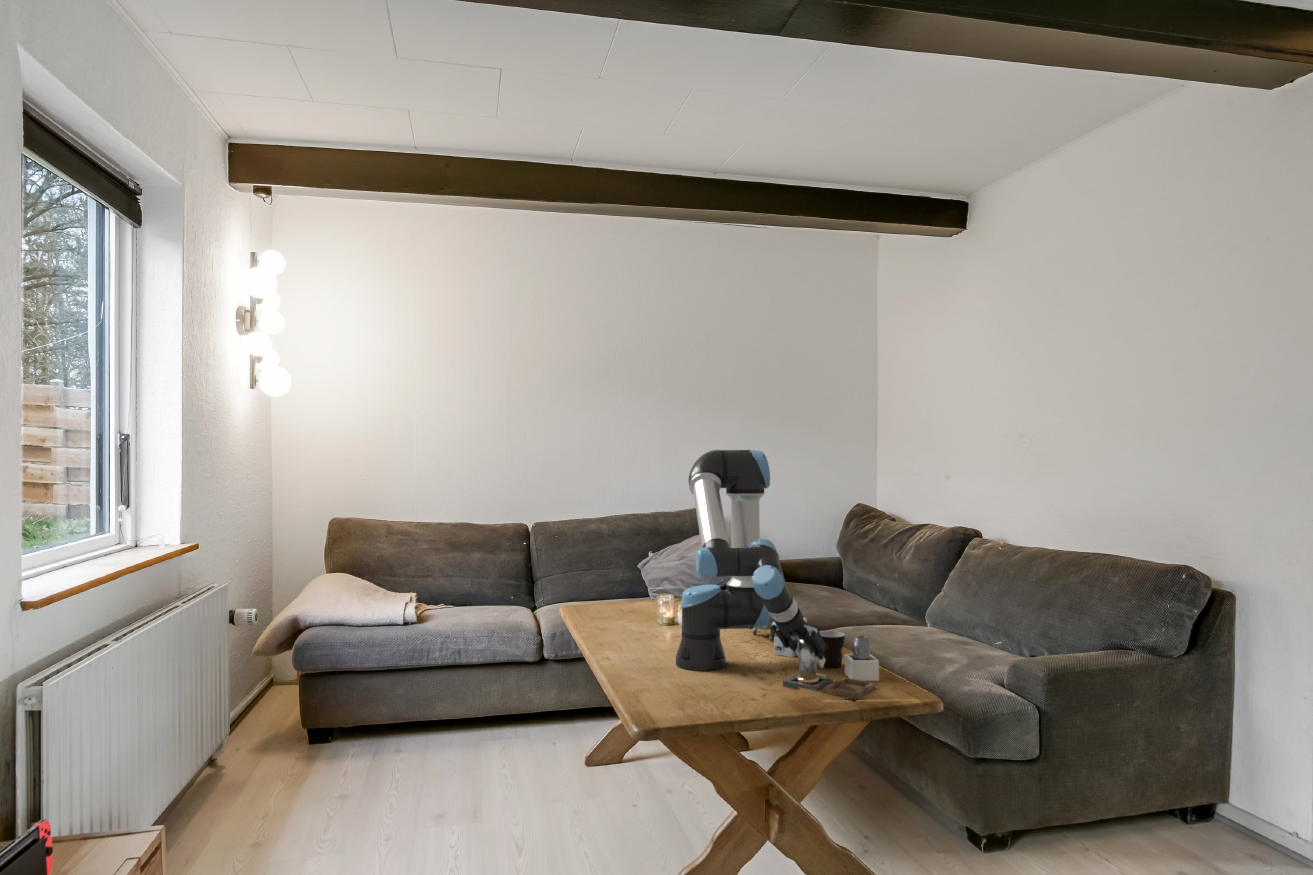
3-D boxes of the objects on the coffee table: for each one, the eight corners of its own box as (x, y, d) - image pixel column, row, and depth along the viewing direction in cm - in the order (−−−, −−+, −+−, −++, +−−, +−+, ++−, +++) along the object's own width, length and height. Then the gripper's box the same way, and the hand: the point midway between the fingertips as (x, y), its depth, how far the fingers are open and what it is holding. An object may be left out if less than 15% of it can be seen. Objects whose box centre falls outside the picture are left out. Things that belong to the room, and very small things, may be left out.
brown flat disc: (812, 686, 214) (812, 681, 214) (792, 682, 218) (792, 677, 218) (822, 681, 219) (822, 676, 219) (803, 677, 223) (803, 672, 223)
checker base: (816, 692, 211) (816, 684, 211) (782, 685, 218) (782, 677, 218) (832, 684, 219) (832, 676, 219) (800, 677, 225) (800, 669, 225)
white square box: (851, 682, 220) (851, 661, 221) (844, 675, 228) (844, 654, 228) (879, 682, 221) (878, 660, 221) (870, 674, 228) (870, 653, 228)
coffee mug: (825, 662, 242) (825, 629, 243) (850, 667, 236) (850, 633, 236) (803, 669, 234) (803, 635, 234) (828, 675, 228) (828, 640, 228)
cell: (801, 679, 216) (801, 636, 216) (797, 674, 220) (797, 632, 221) (818, 679, 216) (818, 636, 216) (814, 674, 221) (814, 632, 221)
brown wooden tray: (854, 701, 204) (854, 694, 204) (822, 694, 209) (822, 688, 209) (875, 689, 214) (875, 683, 214) (843, 683, 220) (843, 677, 220)
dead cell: (854, 678, 222) (854, 636, 223) (851, 674, 227) (851, 633, 228) (871, 678, 222) (870, 636, 223) (868, 674, 227) (867, 633, 227)
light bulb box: (792, 657, 248) (792, 623, 248) (773, 654, 252) (773, 620, 252) (807, 651, 256) (807, 617, 256) (789, 648, 260) (789, 615, 260)
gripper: (751, 619, 212) (781, 668, 225) (810, 628, 201) (839, 679, 214) (761, 596, 216) (790, 646, 229) (820, 604, 206) (847, 655, 218)
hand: (814, 662), depth 221 cm, fingers closed on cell, 5 cm apart
